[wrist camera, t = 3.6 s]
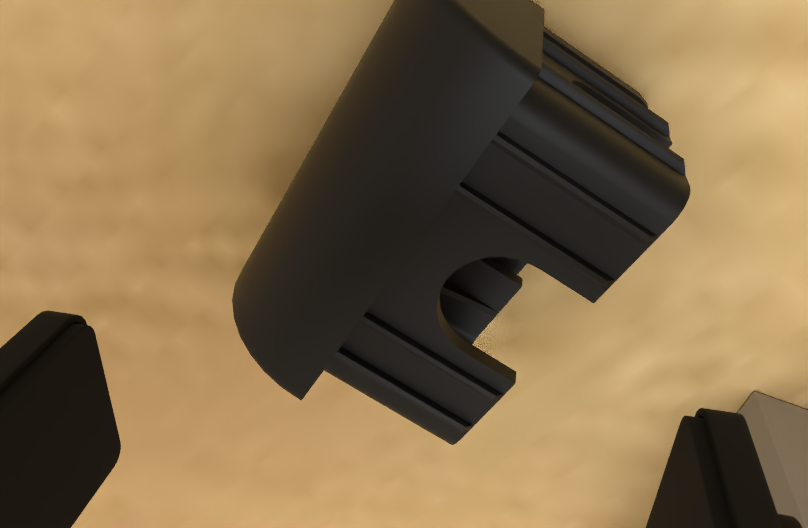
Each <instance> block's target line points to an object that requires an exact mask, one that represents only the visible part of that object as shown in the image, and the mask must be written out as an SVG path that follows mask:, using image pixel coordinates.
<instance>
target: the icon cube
mask: <svg viewBox="0 0 808 528" xmlns="http://www.w3.org/2000/svg"><path fill="white" fill-rule="evenodd" d="M738 414H742V415H743V416H744V418H745V420H746V422H747V425H748V428H749V431H750V434H751V437H752V440H753V443H754V445H755V448H756V451H757V454H758V457H759V460H760V463H761V466H762V469H763V472H764V475H765V478H766V481H767V484H768V487H769V490H770V493H771V496H772V499H773V502H774V505H775V508H776V511H777V513H778V514H782V515H788V516H793V517H795V518H796V519H797V520H798V521H799V522H800V524H801V526H802V528H808V410H806V409H803V408H800V407H798V406H795V405H792V404H789V403H786V402H783V401H781V400H778V399H775V398H772V397H769V396H767V395H764V394H761V393H758V392H755V391H754V392H753V393H752V395H751V396H750V397H749V399H748V400H747V401H746V402H745V404H744V405H743V406H742V408H741V409H740V410H739V411H738Z"/></svg>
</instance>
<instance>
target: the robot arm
mask: <svg viewBox="0 0 808 528" xmlns="http://www.w3.org/2000/svg"><path fill="white" fill-rule="evenodd" d="M120 449H121V444H120V438H119V434H118V430H117V426H116V421H115V417H114V413H113V408H112V404H111V400H110V396H109V391H108V387H107V383H106V379H105V374H104V370H103V366H102V361H101V357H100V353H99V349H98V344H97V340H96V336H95V332H94V330H93V328H92V327H91V326H88V325H87V323H86V321H85V319H84V318H83V317H82V316H79V315H74V314H67V313H60V312H54V311H43V312H41V313H40V314H38V315H37V316H36V317H35V318H33V319H32V320H31V321H30V322H29V323H28V324H27V325H26V326H25V327H23V328H22V329H21V330H20V331H19V332H18V333H17V334H16V335H15V336H14V337H12V338H11V339H10V340H9V341H8V342H7V343H6V344H5V345H4V346H2V347H1V348H0V528H71V527H72V525H73V524H74V522H75V521H76V520H77V518H78V517H79V515H80V514H81V512H82V511H83V510H84V508H85V507H86V505H87V504H88V503H89V501H90V500H91V498H92V497H93V496H94V494H95V493H96V491H97V490H98V489H99V487H100V486H101V484H102V483H103V482H104V480H105V479H106V477H107V476H108V475H109V473H110V472H111V470H112V469H113V468H114V466H115V464H116V463H117V460H118V458H119V454H120ZM646 528H802V526H801V524H800V522H799V521H798V520H797V519H796V518H795V517H793V516H788V515H782V514H778V513H777V511H776V508H775V505H774V502H773V499H772V496H771V493H770V490H769V487H768V484H767V481H766V478H765V475H764V472H763V469H762V466H761V463H760V460H759V457H758V454H757V451H756V448H755V445H754V443H753V440H752V437H751V434H750V431H749V428H748V425H747V422H746V420H745V418H744V416H743V415H742V414H738V413H731V412H725V411H718V410H711V409H705V408H701V409H699V410H698V411H697V413H696V415H695V417H691V416H684V417H683V418H682V421H681V423H680V426H679V429H678V432H677V435H676V438H675V441H674V444H673V447H672V450H671V453H670V456H669V459H668V462H667V465H666V468H665V471H664V474H663V477H662V480H661V483H660V486H659V490H658V493H657V496H656V499H655V502H654V505H653V508H652V511H651V514H650V517H649V520H648V523H647V526H646Z"/></svg>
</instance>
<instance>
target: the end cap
mask: <svg viewBox="0 0 808 528" xmlns="http://www.w3.org/2000/svg"><path fill="white" fill-rule="evenodd" d="M543 26H544V9H543V8H541V7H540V6H538V5H537V4H535V3H534V2H533V1H531V0H395V1H394V2H393V4H392V6H391V8H390V9H389V11H388V13H387V15H386V17H385V18H384V20H383V22H382V24H381V25H380V27H379V29H378V31H377V32H376V34H375V36H374V38H373V40H372V41H371V43H370V45H369V47H368V48H367V50H366V52H365V54H364V55H363V57H362V59H361V61H360V63H359V64H358V66H357V68H356V70H355V71H354V73H353V75H352V77H351V78H350V80H349V82H348V84H347V86H346V87H345V89H344V91H343V93H342V94H341V96H340V98H339V100H338V101H337V103H336V105H335V107H334V109H333V110H332V112H331V114H330V116H329V117H328V119H327V121H326V123H325V124H324V126H323V128H322V130H321V132H320V133H319V135H318V137H317V139H316V140H315V142H314V144H313V146H312V147H311V149H310V151H309V153H308V155H307V156H306V158H305V160H304V162H303V163H302V165H301V167H300V169H299V170H298V172H297V174H296V176H295V177H294V179H293V181H292V183H291V185H290V186H289V188H288V190H287V192H286V193H285V195H284V197H283V199H282V200H281V202H280V204H279V206H278V208H277V209H276V211H275V213H274V215H273V216H272V218H271V220H270V222H269V223H268V225H267V227H266V229H265V231H264V232H263V234H262V236H261V238H260V239H259V241H258V243H257V245H256V246H255V248H254V250H253V252H252V254H251V255H250V257H249V259H248V261H247V262H246V264H245V266H244V268H243V269H242V271H241V273H240V275H239V277H238V279H237V281H236V283H235V287H234V293H233V299H232V303H233V313H234V320H235V323H236V326H237V329H238V332H239V334H240V337H241V339H242V341H243V342H244V344H245V346H246V348H247V349H248V351H249V353H250V355H251V356H252V357H253V358H254V359H255V361H256V362H257V363H258V364H259V366H260V367H261V368H262V369H263V371H264V372H265V373H266V374H268V375H269V376H270V377H271V378H272V379H273V380H274V381H275V382H276V383H277V384H279V385H280V386H281V387H282V388H283V389H285V390H286V391H288V392H289V393H291V394H292V395H294V396H295V397H297V398H298V399H300V400H302V399H303V398H304V396H305V395H306V394H307V392H308V391H309V390H310V388H311V387H312V385H313V384H314V383H315V381H316V380H317V379H318V377H319V376H320V375H321V373H322V372H323V370H325V371H326V372H328V373H330V374H331V375H333V376H335V377H337V378H338V379H340V380H342V381H343V382H345V383H347V384H348V385H350V386H352V387H354V388H355V389H357V390H359V391H360V392H362V393H364V394H366V395H367V396H369V397H371V398H372V399H374V400H376V401H378V402H379V403H381V404H383V405H384V406H386V407H388V408H390V409H391V410H393V411H395V412H396V413H398V414H400V415H402V416H403V417H405V418H407V419H408V420H410V421H412V422H413V423H415V424H417V425H419V426H420V427H422V428H424V429H425V430H427V431H429V432H431V433H432V434H434V435H436V436H437V437H439V438H441V439H443V440H444V441H446V442H448V443H449V444H452V445H453V444H456V443H457V442H458V441H459V440H460V439H461V438H462V437H463V436H464V435H465V434H466V433H467V432H468V431H469V430H470V429H471V428H472V427H473V426H474V425H475V424H476V423H477V422H478V421H479V420H480V419H481V418H482V417H483V416H484V415H485V414H486V413H487V412H488V411H489V410H490V409H491V408H492V407H493V406H494V405H495V404H496V403H497V402H498V401H499V400H500V399H501V398H502V397H503V396H504V395H505V393H506V392H507V391H508V390H509V389H510V388H511V387H512V386H513V385H514V384H515V381H516V371H514V370H512V369H511V368H509V367H507V366H506V365H504V364H503V363H501V362H499V361H498V360H496V359H494V358H493V357H491V356H489V355H488V354H486V353H484V352H483V351H481V350H480V349H478V348H476V347H475V346H473V345H472V344H473V342H474V341H475V339H476V338H477V337H478V336H479V334H480V333H481V332H482V331H483V330H484V329H485V328H486V327H487V325H488V324H489V323H490V322H491V321H492V320H493V319H494V317H495V316H496V315H497V314H498V313H499V312H500V311H501V310H502V308H503V307H504V306H505V305H506V304H507V303H508V302H509V300H510V299H511V298H512V297H513V296H514V295H515V294H516V293H517V291H518V290H519V289H520V288H521V287H522V278H521V277H519V276H518V275H517V274H518V273H519V272H520V271H521V270H522V268H523V267H524V266H525V265H526V264H527V263H529V264H531V265H533V266H535V267H537V268H539V269H541V270H542V271H544V272H545V273H547V274H549V275H550V276H552V277H553V278H555V279H556V280H558V281H560V282H561V283H563V284H564V285H566V286H567V287H569V288H571V289H572V290H574V291H575V292H577V293H578V294H580V295H582V296H583V297H585V298H586V299H588V300H589V301H591V302H593V303H595V302H596V301H597V300H598V299H599V298H600V296H601V295H602V294H603V293H604V292H605V291H606V290H607V289H608V288H609V287H610V286H611V285H612V284H613V283H614V282H615V281H616V280H617V279H618V278H619V277H620V276H621V275H622V274H623V273H624V272H625V271H626V270H627V269H628V268H629V267H630V266H631V265H632V264H633V263H634V262H635V261H636V260H637V259H638V258H639V257H640V256H641V255H642V254H643V253H644V252H645V251H646V250H647V248H648V247H649V246H650V245H651V244H652V243H653V242H654V241H655V240H656V239H657V238H658V237H659V236H660V235H661V234H662V233H663V232H664V231H665V230H666V229H667V228H668V227H669V226H670V225H671V224H672V223H673V222H674V221H675V219H676V218H677V217H678V216H679V215H680V213H681V212H682V210H683V209H684V207H685V205H686V203H687V201H688V199H689V195H690V185H689V183H688V180H687V178H686V176H685V165H684V159H683V158H682V157H680V156H679V155H677V154H676V153H674V152H673V151H671V150H670V149H668V148H669V147H670V146H671V145H672V142H671V139H670V137H669V126H668V122H667V121H665V120H664V119H662V118H661V117H659V116H658V115H656V114H655V113H654V112H652V111H651V110H649V109H648V106H647V103H646V101H645V100H644V98H643V97H642V96H641V95H640V94H639V93H638V92H637V91H636V90H634V89H633V88H631V87H630V86H628V85H627V84H626V83H624V82H623V81H621V80H620V79H618V78H617V77H615V76H614V75H613V74H611V73H610V72H608V71H607V70H605V69H604V68H602V67H601V66H600V65H598V64H597V63H595V62H594V61H592V60H591V59H589V58H588V57H587V56H585V55H584V54H582V53H581V52H579V51H578V50H577V49H575V48H574V47H572V46H571V45H569V44H568V43H566V42H565V41H564V40H562V39H561V38H559V37H558V36H556V35H555V34H553V33H552V32H551V31H549V30H548V29H546V28H545V27H543Z"/></svg>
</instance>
